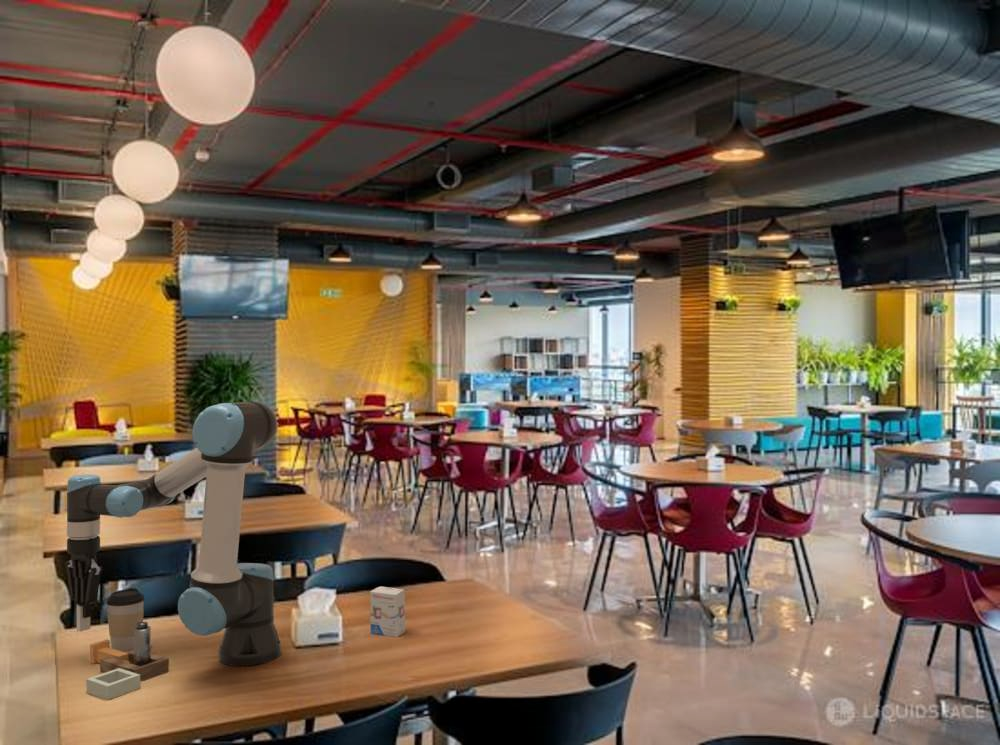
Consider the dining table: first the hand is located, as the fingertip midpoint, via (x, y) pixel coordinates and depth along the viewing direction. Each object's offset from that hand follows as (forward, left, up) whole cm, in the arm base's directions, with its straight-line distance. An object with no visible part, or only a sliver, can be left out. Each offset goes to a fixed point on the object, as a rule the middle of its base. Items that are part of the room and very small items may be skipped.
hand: (83, 629), depth 212 cm
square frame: (-27, +9, -7) cm, 29 cm away
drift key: (-11, 0, -7) cm, 13 cm away
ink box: (-54, -54, -7) cm, 77 cm away
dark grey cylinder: (-24, 0, -7) cm, 25 cm away
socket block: (-21, 0, -7) cm, 22 cm away
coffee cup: (-4, -9, -7) cm, 12 cm away
